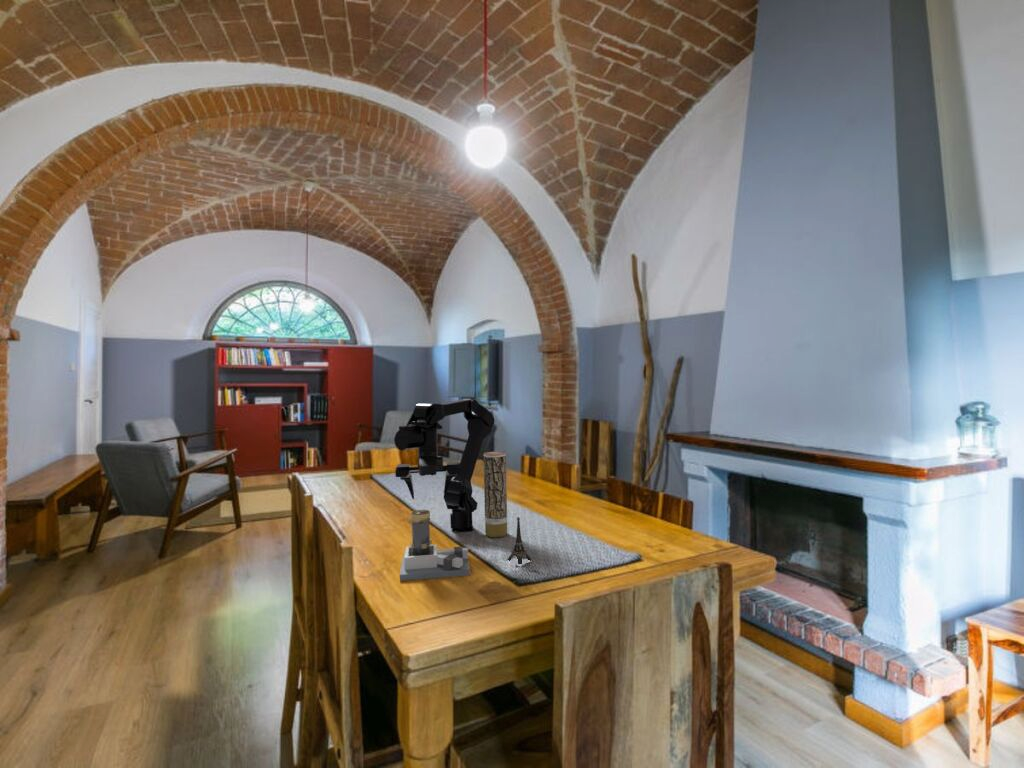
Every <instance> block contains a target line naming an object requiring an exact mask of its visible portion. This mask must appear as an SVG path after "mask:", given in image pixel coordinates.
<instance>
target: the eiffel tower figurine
mask: <svg viewBox="0 0 1024 768" xmlns="http://www.w3.org/2000/svg"><path fill="white" fill-rule="evenodd" d="M520 520H521V518H520V517H519V516H518V517H516V521H517V522H516V523H517V525H516V539H515V542H514V543H515V544H514V547H513V550H512V551H511V554H510V555H509V556H508V558H507V560H509V561H510V560H511V559H513V558H515V557H517V559H518V564H522V558H524V557H525V558H526V559H528V560H530V561H531V560H533V559H532V558H531V556H530V555H529V554H528V552H527V550H526V549H525V547H524V544H523V543H524V542H523V540H522V534H521V533H522V532H521V525H520V523H521V522H520Z"/></svg>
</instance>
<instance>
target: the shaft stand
mask: <svg viewBox="0 0 1024 768" xmlns="http://www.w3.org/2000/svg"><path fill="white" fill-rule="evenodd" d="M430 553H431V555H420V556H412V554H413V548H412V547H411V545H410V546H406V548H405V553H403V554H402V560H401V566H400V570H399V571H400V572H399V582H404V581H417V580H419V581H420V580H429V579H442V578H452V577H453V578H454V577H455V578H456V577H465V576H467V577H468V576H471V570H470V569H471V568H470V563H469V562H470V561H469V549H468V547H463V546H453V548H449V549H448V548H447V549H438V544H431V545H430Z"/></svg>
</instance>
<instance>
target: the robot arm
mask: <svg viewBox="0 0 1024 768" xmlns="http://www.w3.org/2000/svg"><path fill="white" fill-rule="evenodd" d="M413 409H414V410H413V411H412V414H411V415H410V418H409V420H408V422H407V423H406V425H400V426H398V431H396V433H395V434H394V439H393V442H394V446H395V447H396V449H397V450H399V451H402V452H403V451H406V450H412V449H417V455H418V456H417V466H411V464H410V463H401V464H400V463H399V464H397V465H396V467H395V475H394V476H395V477H396V478H399V479H400V480H401V481H404V483H406V486H407V487H408V491H409V493H410V496H411V499H412V500H415V490H414V483H413V477H412V476H413V475H412V474H419V476H421V477H424V476H436V475H437V473H441V472H444V473H445V477H444V478H445V479H444V488H443V491H442V492H443V500H444V502H445V506H446V509H447V510H451V513H450V515H449V516H450V517H449V519H450V520H449V521H450V529H451V531H460V532H468V531H469V532H470V531H474V527H473V513H474V512H475V511H477V510H478V509H477V508H478V504H479V503H478V501H476V499H475V498H474V497H473V487H472V483H471V481H472V478H473V475H474V471H475V468H476V464H477V462H478V459H479V458H478V457H479V454H480V452H481V448H482V446H483V442H484V440H485V438H486V437H487V436H488V435H489V434H490V433H491V432H492V429H493V427H494V425H495V417H494V416H493V414H492V413H491V412H490V411H489V410H488V409H487V407H484V406H483V405H481V404H480V403H479V402H478V401H477V400H476V399H475V398H462V399H458V400H452V401H448V402H442V403H432V402H431V403H428V402H427V403H425V402H424V403H423V402H419V403H417V404H415V407H414V408H413ZM458 414H463V417H464V419H465V420H466V421H467V426H466V427H467V431H468V438H467V439H466V440H467V441H466V443H465V446H464V449H463V452H462V455H461V460H460V462H459V461H446V464H445V465H444V458H443V456H438V455H439V454H438V453H439V452H438V451H439V450H438V430H442V429H443V426H442V425H441V424H440V423H439V422H440V421H442V420H443V419H444V418H445V417H448V416H452V415H458Z"/></svg>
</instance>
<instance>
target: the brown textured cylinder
mask: <svg viewBox="0 0 1024 768" xmlns="http://www.w3.org/2000/svg"><path fill="white" fill-rule="evenodd" d="M483 482H484V483H483V488H484V489H483V490H484V491H483V492H484V497H483V498H484V526H485V527H484V529H485V532H484V533H485V534H486V537H489V538H502V537H505V536H506V535H507V534H508V493H507V492H508V491H507V490H508V489H507V488H508V486H507V454H506V452H504V451H502V452H501V451H487V452H484V453H483Z"/></svg>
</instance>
